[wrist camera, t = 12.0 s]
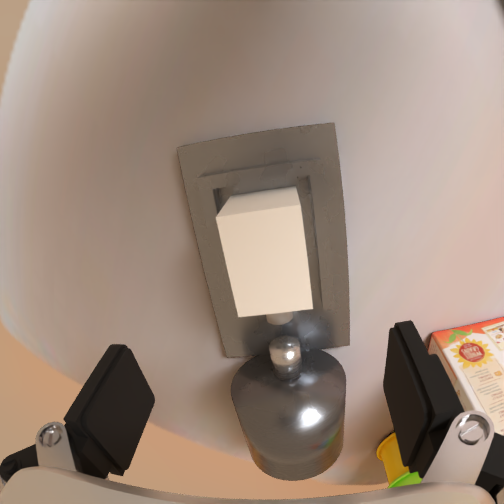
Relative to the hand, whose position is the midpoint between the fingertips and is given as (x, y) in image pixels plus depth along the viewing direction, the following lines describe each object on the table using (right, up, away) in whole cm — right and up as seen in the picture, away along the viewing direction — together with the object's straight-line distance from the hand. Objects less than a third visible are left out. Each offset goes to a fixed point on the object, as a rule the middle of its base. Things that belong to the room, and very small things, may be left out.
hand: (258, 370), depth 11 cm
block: (+1, +6, +15) cm, 16 cm away
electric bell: (+3, -1, +18) cm, 18 cm away
